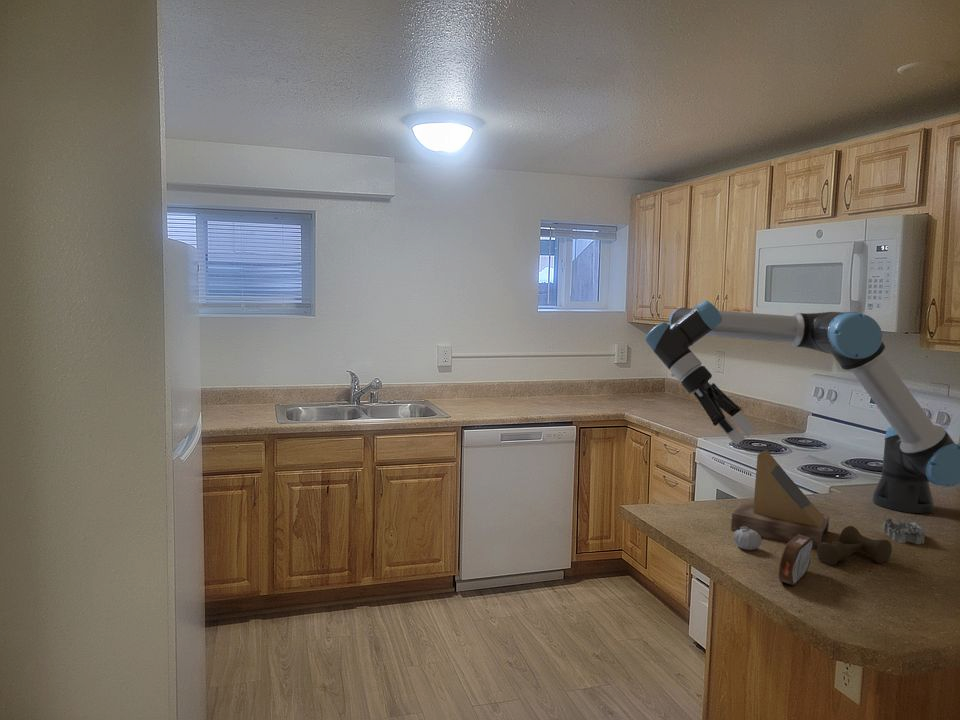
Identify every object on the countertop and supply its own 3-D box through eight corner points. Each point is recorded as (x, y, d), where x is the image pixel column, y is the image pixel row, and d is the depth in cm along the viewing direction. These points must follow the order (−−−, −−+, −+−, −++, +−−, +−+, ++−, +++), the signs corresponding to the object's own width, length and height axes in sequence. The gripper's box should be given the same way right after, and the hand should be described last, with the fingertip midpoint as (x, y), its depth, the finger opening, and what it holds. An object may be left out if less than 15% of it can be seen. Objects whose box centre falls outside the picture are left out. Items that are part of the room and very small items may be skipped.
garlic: (731, 549, 157) (733, 527, 156) (733, 542, 161) (735, 521, 161) (760, 555, 154) (762, 532, 154) (761, 547, 159) (762, 525, 159)
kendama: (804, 559, 154) (862, 545, 163) (844, 576, 146) (902, 561, 155) (807, 533, 154) (864, 521, 163) (846, 549, 145) (905, 535, 154)
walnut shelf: (828, 531, 173) (829, 514, 173) (820, 549, 159) (821, 531, 159) (745, 514, 184) (746, 499, 183) (730, 530, 170) (732, 513, 170)
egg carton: (879, 529, 177) (881, 514, 177) (912, 533, 175) (914, 517, 175) (892, 542, 167) (894, 526, 167) (927, 547, 165) (929, 530, 165)
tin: (797, 566, 148) (800, 528, 147) (812, 570, 146) (816, 532, 145) (775, 587, 136) (779, 546, 136) (792, 592, 134) (796, 550, 134)
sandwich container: (819, 527, 162) (825, 465, 161) (752, 513, 171) (757, 454, 170) (826, 518, 169) (831, 459, 168) (761, 505, 178) (765, 448, 177)
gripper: (693, 379, 193) (745, 439, 187) (666, 386, 172) (723, 454, 166) (714, 361, 190) (767, 422, 183) (688, 367, 169) (747, 436, 162)
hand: (746, 437), depth 175 cm, fingers open, 13 cm apart
